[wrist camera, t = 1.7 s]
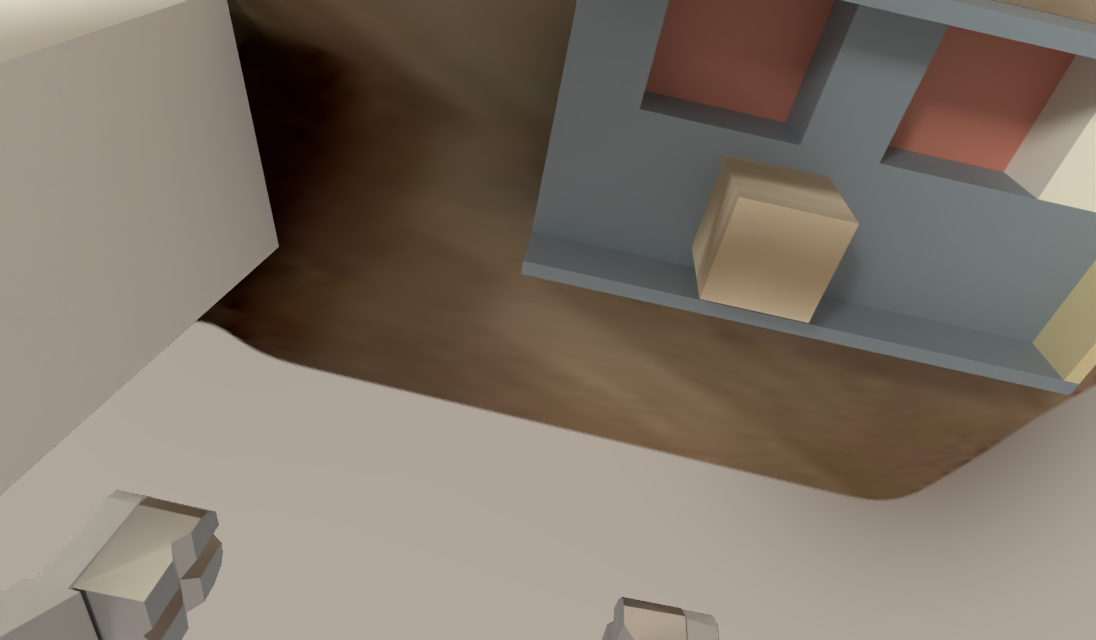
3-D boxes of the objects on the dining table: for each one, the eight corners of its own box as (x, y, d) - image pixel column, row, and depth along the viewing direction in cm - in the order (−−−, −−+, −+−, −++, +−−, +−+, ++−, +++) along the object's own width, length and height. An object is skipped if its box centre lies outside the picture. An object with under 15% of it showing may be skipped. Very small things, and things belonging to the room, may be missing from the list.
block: (725, 153, 25) (738, 196, 21) (829, 177, 25) (859, 224, 21) (691, 246, 27) (699, 298, 24) (787, 268, 27) (808, 322, 24)
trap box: (598, -91, 23) (589, -83, 19) (1197, 47, 24) (1331, 88, 19) (537, 213, 30) (520, 273, 26) (1004, 318, 30) (1069, 395, 26)
